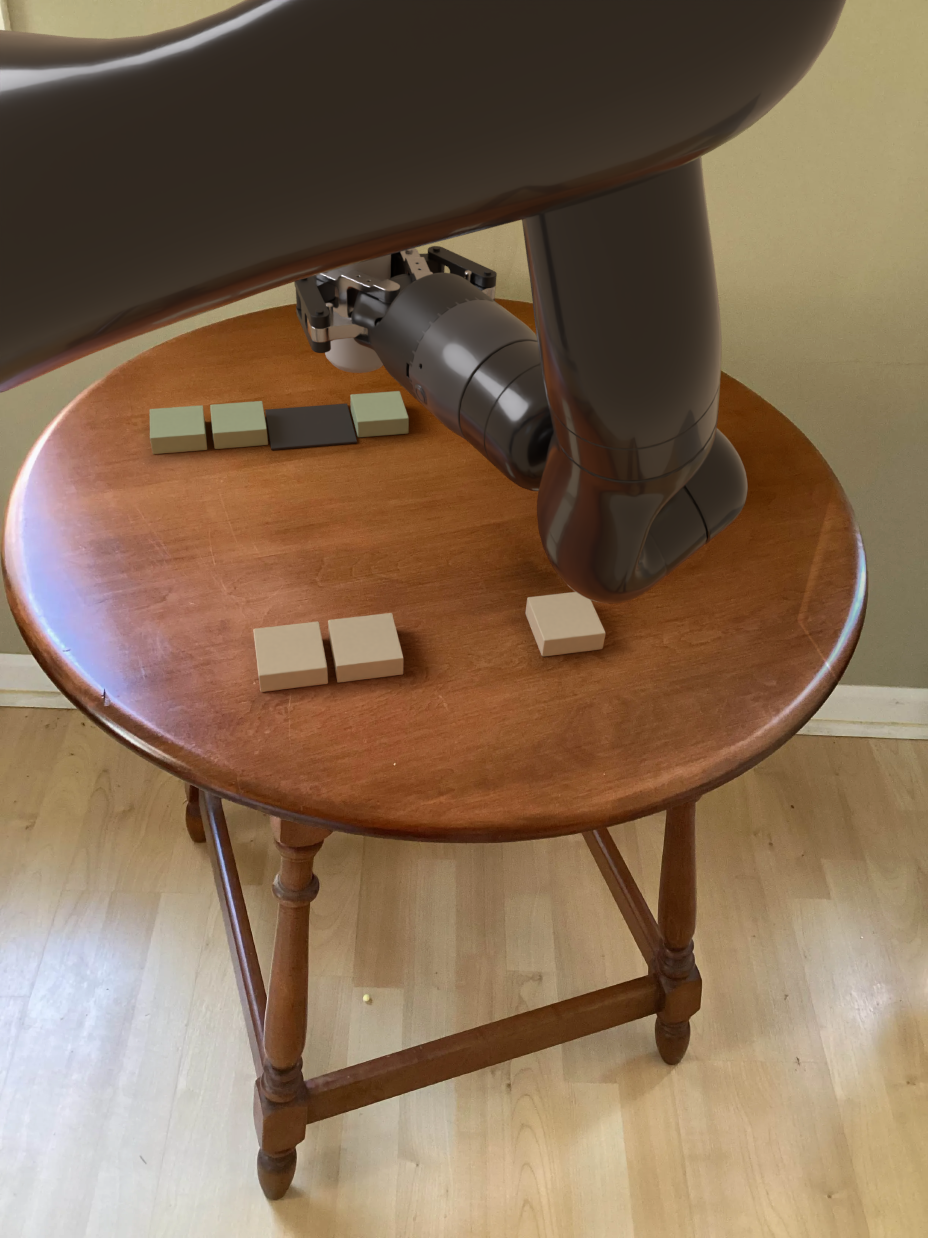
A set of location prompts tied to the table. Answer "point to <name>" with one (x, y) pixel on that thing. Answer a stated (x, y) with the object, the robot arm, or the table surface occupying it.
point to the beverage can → (348, 350)
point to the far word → (278, 424)
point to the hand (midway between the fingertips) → (338, 252)
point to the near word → (376, 648)
